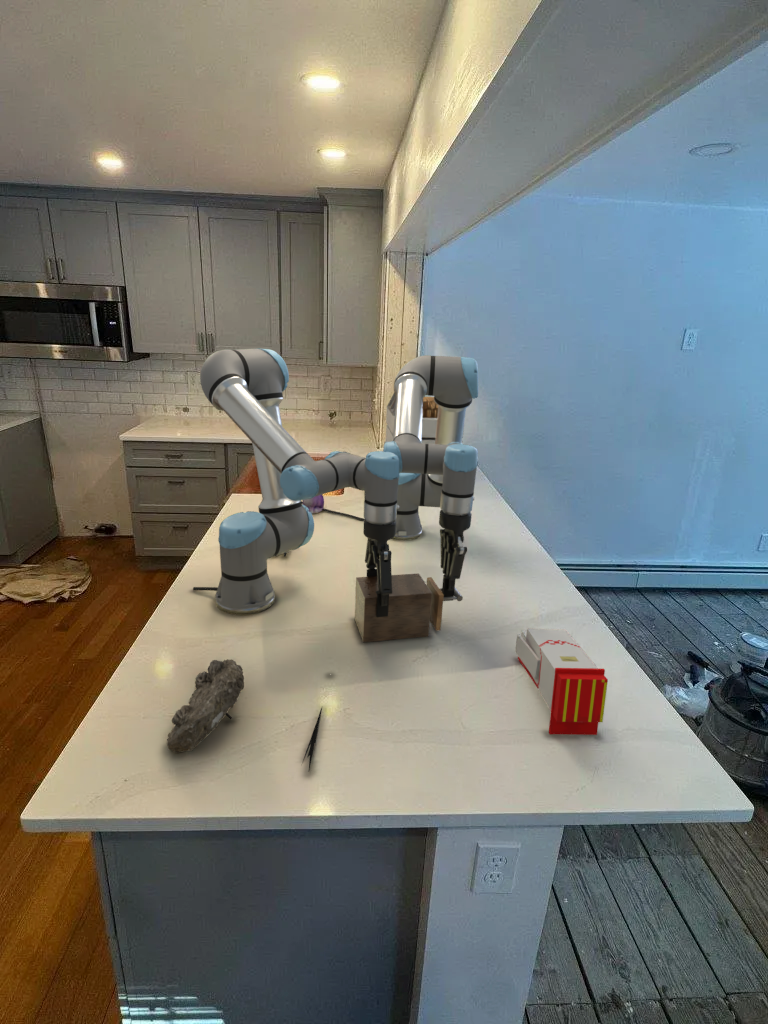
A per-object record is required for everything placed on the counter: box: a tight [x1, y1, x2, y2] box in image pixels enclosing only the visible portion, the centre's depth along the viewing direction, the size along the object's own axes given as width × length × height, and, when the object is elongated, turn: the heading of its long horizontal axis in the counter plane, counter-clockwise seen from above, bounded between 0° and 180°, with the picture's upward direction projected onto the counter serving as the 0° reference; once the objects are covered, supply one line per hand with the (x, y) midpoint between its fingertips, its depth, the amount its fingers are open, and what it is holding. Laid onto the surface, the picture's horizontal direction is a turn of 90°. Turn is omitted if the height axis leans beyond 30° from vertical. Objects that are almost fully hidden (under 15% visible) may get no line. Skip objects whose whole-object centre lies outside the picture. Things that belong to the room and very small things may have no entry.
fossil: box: [166, 658, 245, 754], centre depth 106 cm, size 22×10×15 cm
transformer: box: [383, 392, 465, 445], centre depth 268 cm, size 34×33×41 cm
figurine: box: [302, 494, 325, 514], centre depth 216 cm, size 9×10×15 cm
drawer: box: [426, 576, 464, 631], centre depth 141 cm, size 21×10×10 cm, turn 104°
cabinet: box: [354, 573, 432, 643], centre depth 139 cm, size 16×11×12 cm, turn 104°
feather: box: [301, 673, 332, 771], centre depth 108 cm, size 2×28×2 cm
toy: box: [514, 627, 609, 736], centre depth 119 cm, size 12×13×30 cm
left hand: (376, 604), depth 138 cm, fingers closed on cabinet, 11 cm apart
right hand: (447, 599), depth 142 cm, fingers closed
